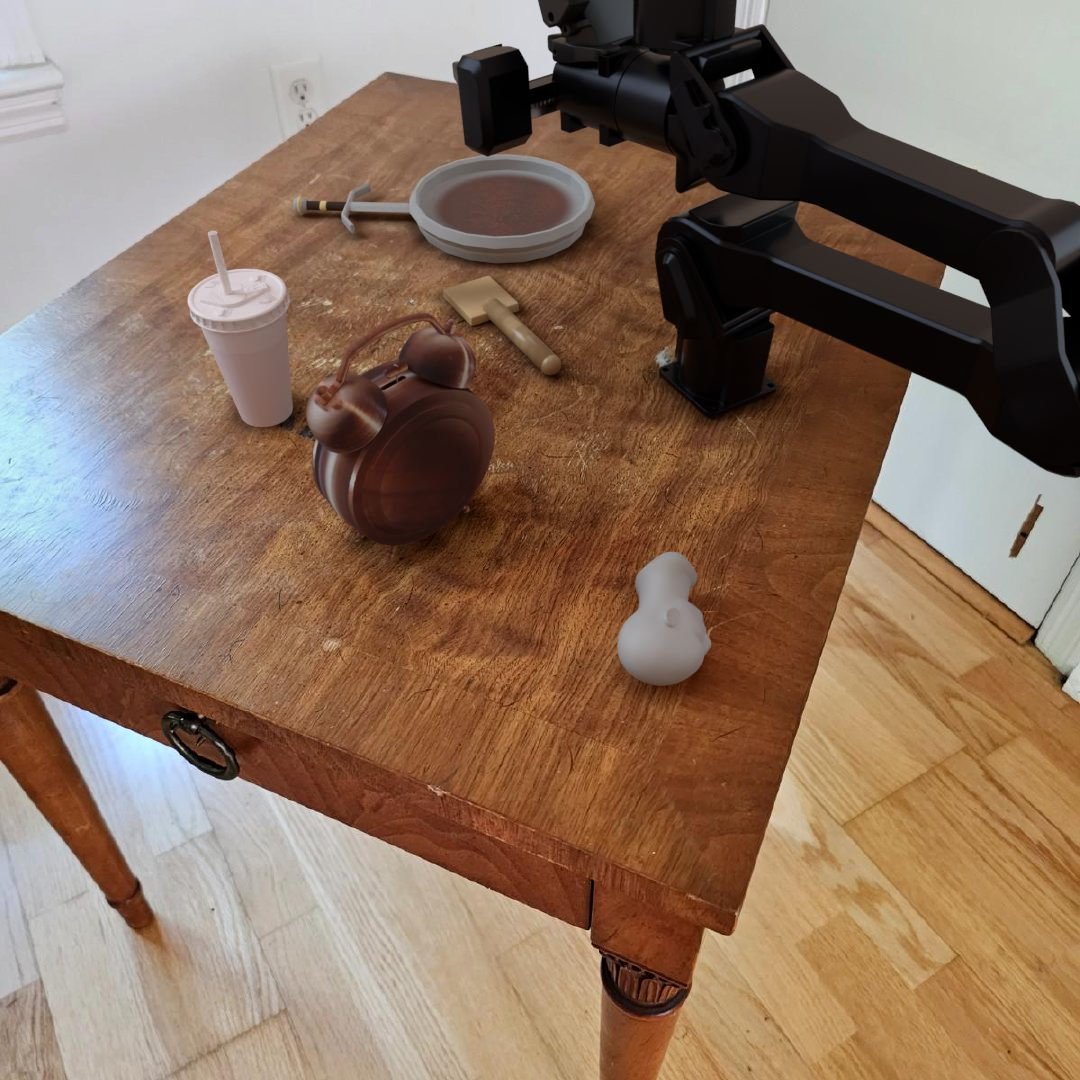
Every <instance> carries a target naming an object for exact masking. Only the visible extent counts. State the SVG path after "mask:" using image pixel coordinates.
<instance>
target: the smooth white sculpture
mask: <svg viewBox="0 0 1080 1080" xmlns="http://www.w3.org/2000/svg"><path fill="white" fill-rule="evenodd" d="M697 581H698V573H697V571H696V569H695V568H694V566H693V565H692V563H690V561H689V560H688V558H687V557H686V556H685V555H683V554H682V553H680V552H677V551H667V552H663V553H661V554H659V555H658V556H656V557H654V558H653V559H652V560H650V562H648V563H647V564H646V565H645V566H644V567H643V568H641V570H640V571H639V572H638V573H637V575H636V577H635V581H634V587H635V591H636V593H637V594H638V598H639V600H638V601H639V602H638V608H637V609H636V611H635V612H634V613H632V614H631V615H630V616H629V617H628V618H627V619H626V620H625V622H623V625H622V626H621V628H620V631H619V634H618V636H617V644H616V645H617V655H618V658H619V661H620V663H621V665H622V667H623V668H624V669H625V671H626V672H627V673H628V674H629V675H630V676H632V677H633V678H635V679H636V680H638V681H639V682H642V683H645V684H648V685H651V686H652V685H653V686H658V687H659V686H671V685H675V684H678V683H680V682H683V681H685V680H686V679H688V678H690V677H692V675H694V673H697V671H698V670H699V669H700V668H701V666H702V664H703V661H704V658H705V656H706V654H707V653H708V652H709V651H710V649H711V647H712V641H711V638H710V637H709V635H708V633H707V628H706V625H705V623H704V615H703V612H702V611H701V610H700V609H699V608H698V607H697V606H695V604H693V603H691V602H690V601H689V596H690V590H691V589H693V588H694V587H695V586H696V583H697Z"/></svg>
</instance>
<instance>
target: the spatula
mask: <svg viewBox="0 0 1080 1080" xmlns="http://www.w3.org/2000/svg"><path fill="white" fill-rule="evenodd" d="M442 297H443V299H444V300H445V301H446V302H447V303H448V304H449V305H450V306H451V307H452V308H453V309H454V310H455V311H456V312H457V313H458V314H459V315H460V316H461V317H462V318H463V319H464V321H466V322H467V324H469V326H470V327H474V326H477V325H480V324H484V323H486V322H489V321H491V322H492V323H493V324H494V325H495V326H496V327H497V328H498V329H499V330H500V332H502V333H503V334H504V336H506V337H507V338H508V340H510V342H512V343H513V344H514V346H515V347H517V348H518V349H519V350H520V351H521V352H522V353H523V354H524V355H525V356H526V358H528V359H529V360H530V361H531V362H532V364H534V365H535V366H536V367H537V368H538V369H539V370H540V371H541V372H542V373H543V374H545V375H548V376H555V375H556V374H557V373H559V372H560V370H561V367H562V361H561V358H560V357H559V356H558V355H557V354H556V353H555V352H554V351H553V350H552V349H551V348H549V347H548V346H547V344H545V343H544V341H542V340H541V338H539V337H538V336H537V335H536V334H535V333H534V332H533V331H532V330H531V329H530V328H529V327H528V326H526V324H525V323H524V322H522V320H521V319H520V318H518V317H517V316H516V314H514V313H517V312H519V311H520V309H519V308H520V307H519V302H518V301H517V300H516V299H515V298H514V297H513V296H512V295H510V294H509V292H507V290H505V289H504V288H503V287H502V286H501V285H500V284H499V283H498V282H497V281H495V279H494V278H492V277H491V276H490V275H486V276H482V277H479V278H476V279H473V280H468V281H465V282H463V283H459V284H456V285H453V286H450V287H446V288H443V289H442Z"/></svg>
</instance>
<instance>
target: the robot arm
mask: <svg viewBox="0 0 1080 1080" xmlns="http://www.w3.org/2000/svg"><path fill="white" fill-rule="evenodd" d="M537 2H538V7H539V11H540V15H541V19H542V22H543V23H544V25H546V27H547V28H549V29H550V28H555V27H557V28H559V30H560V32H559V33H557V32H556V33H551V34H548V35H547V50H548V51H549V53H551V54H552V55H551V56H552V60H553V61H554V62H555V64H554V66H553V71H552V73H550V74H545V75H542V76H540V77H536V78H533V79H530V71H529V70H530V69H529V64H528V63H527V61H526V59H525V57H524V56H523V53H522V52H521V50H520V48H517V47H514V46H511V45H503V43H498V44H495V45H494V44H493V45H492V46H487V47H484V48H481V49H476V50H474V51H472V52H470V53H465V54H463V55H461V57H460V59H459V60H457V61H454V62H452V64H451V66H452V67H451V68H452V74H453V75H452V76H453V79H454V80H455V82H456V84H457V86H458V95H459V102H460V103H459V104H460V105H459V106H460V113H461V121H462V122H461V123H462V131H463V140H464V146H466V147H467V148H468V149H470V150H471V151H472V152H475V153H477V154H479V155H484V156H487V157H488V156H491V155H498V154H500V153H503V152H506V151H509V150H512V149H514V148H517V147H520V146H523V145H525V144H526V143H527V142H528V141H529V139H530V138H531V137H532V135H533V121H532V120H534V119H537V118H540V117H544V116H546V115H550V114H552V113H555V112H558V111H559V113H560V114H559V116H560V117H559V118H560V119H559V120H560V131H562V132H565V133H567V134H573V133H576V132H578V131H581V130H583V129H587V128H589V129H593V130H596V131H598V140H599V141H598V143H599V145H602V146H605V147H607V148H611V147H613V146H616V145H618V144H621V143H625V142H627V141H629V142H631V143H635V144H637V145H640V146H643V147H646V148H649V149H653V150H654V151H658V152H661V153H664V154H667V155H670V156H673V157H675V176H674V177H675V180H674V189H675V191H676V193H678V194H684V193H686V192H688V191H691V190H693V189H696V188H698V187H701V186H703V185H705V184H709V185H711V186H712V187H714V188H715V189H716V190H719V191H721V192H724V194H721V195H719V196H716V197H714V198H712V199H709V200H707V201H705V202H702V203H701V204H698V205H695V206H693V207H691V208H689V209H686V210H683V211H681V212H680V213H677V214H674V215H672V216H670V217H668V218H667V219H665V221H664V222H663V223H662V224H661V226H660V228H659V229H658V232H657V237H656V243H655V250H654V263H655V271H656V276H657V282H658V289H659V296H660V301H661V308H662V314H663V318H664V320H665V321H667V322H669V323H670V324H672V325H673V326H674V328H675V329H676V342H675V349H674V359H675V361H672V362H670V363H667V364H664V365H662V366H660V367H659V369H658V376H659V377H660V378H661V379H662V380H664V382H666V383H667V384H668V385H669V386H671V388H672V389H674V390H675V391H676V392H677V393H678V394H679V395H681V397H683V398H684V399H685V400H686V401H688V403H690V404H691V405H692V406H693V407H694V408H696V409H697V411H699V413H701V414H702V415H704V417H706V418H707V419H714V418H716V417H717V418H718V417H720V416H723V415H725V414H727V413H730V412H732V411H735V410H737V409H739V408H741V407H744V406H747V405H749V404H752V403H754V402H756V401H760V400H761V399H764V398H766V397H769V396H771V395H775V393H777V389H778V384H777V383H776V382H775V381H774V380H772V379H771V378H769V377H768V376H767V375H766V370H767V366H768V362H769V358H770V357H769V356H770V352H771V347H772V344H773V343H772V342H773V338H774V333H775V328H776V326H775V324H774V323H772V322H771V321H770V318H771V316H772V315H773V314H775V313H778V314H781V315H782V316H784V317H786V318H789V319H790V320H794V321H795V322H797V323H800V324H802V325H804V326H807V327H809V328H811V329H813V330H816V331H818V332H820V333H823V334H825V335H827V336H829V337H832V338H833V339H836V340H838V341H841V342H843V343H844V344H847V345H849V346H852V347H854V348H856V349H858V350H861V351H863V352H865V353H866V354H867V353H868V354H870V355H872V356H874V357H875V358H879V359H881V360H883V361H885V362H887V363H890V364H892V365H894V366H897V367H898V368H901V369H904V370H905V371H907V372H910V373H912V374H914V375H917V376H919V377H921V378H924V379H926V380H928V381H930V382H932V383H935V384H937V385H938V386H939V385H940V386H942V387H944V388H946V389H948V390H950V391H952V392H955V393H957V394H959V395H960V396H961V397H964V398H965V399H966V400H967V402H968V403H969V405H970V406H971V408H972V409H973V411H974V413H975V414H976V415H977V417H978V418H979V419H980V421H981V423H982V424H983V426H984V427H985V428H986V430H987V431H988V433H989V434H990V435H991V436H992V437H993V438H994V439H996V440H997V441H999V442H1001V444H1003V445H1005V446H1007V447H1008V448H1009V449H1011V450H1013V451H1014V452H1016V453H1018V455H1020V456H1022V457H1023V458H1025V459H1027V460H1028V461H1029V462H1030V463H1033V464H1034V465H1036V466H1037V467H1038V468H1040V469H1042V470H1044V471H1045V472H1048V473H1051V474H1054V475H1058V476H1060V477H1063V478H1073V479H1077V478H1080V205H1079V204H1078V203H1077V202H1075V201H1071V200H1066V199H1062V198H1051V197H1044V196H1042V195H1040V194H1037V193H1034V192H1032V191H1029V190H1026V189H1024V188H1021V187H1019V186H1016V185H1014V184H1011V183H1009V182H1006V181H1004V180H1002V179H998V178H996V177H993V176H991V175H989V174H986V173H985V172H984V173H983V172H981V171H978V170H976V169H973V168H971V167H969V166H966V165H963V164H962V163H961V164H960V163H957V162H955V161H953V160H950V159H948V158H945V157H942V156H940V155H939V154H938V155H937V154H935V153H932V152H930V151H927V150H925V149H923V148H920V147H917V146H915V145H912V144H911V143H907V142H904V141H902V140H899V139H897V138H895V137H891V136H888V135H886V134H884V133H881V132H879V131H877V130H874V129H871V128H869V127H867V126H866V125H864V124H863V123H862V122H860V121H858V120H857V119H856V118H854V117H853V116H852V115H851V114H850V112H849V110H848V109H847V107H846V105H845V104H844V102H843V101H842V99H841V98H840V96H839V95H837V94H836V93H834V92H833V91H831V90H829V89H828V88H827V87H825V86H824V85H822V84H820V83H819V82H817V81H816V80H814V79H813V78H811V77H809V76H808V75H806V74H804V73H803V72H801V71H799V70H798V69H796V67H795V66H794V65H793V63H792V62H791V60H790V59H789V58H788V56H787V55H786V53H785V52H784V50H783V49H782V48H781V46H780V45H779V43H778V42H777V41H776V39H775V38H774V36H773V35H772V34H771V32H770V30H769V29H768V28H767V27H766V25H765V24H764V23H758V24H756V25H753V26H750V27H746V28H742V27H738V26H736V17H737V4H738V3H737V2H738V0H537ZM750 70H751V72H752V76H753V78H750V79H748V80H745V81H742V82H739V83H737V84H734V85H730V86H728V87H726V83H725V80H724V79H727V78H729V77H732V76H735V75H738V74H741V73H743V72H746V71H750ZM800 202H802V203H805V204H809V205H814V206H818V207H819V208H821V209H823V210H826V211H828V212H831V214H835V215H837V216H839V217H840V218H843V219H845V220H848V221H850V222H852V223H854V224H856V225H859V226H860V227H863V228H865V229H867V230H869V231H871V232H874V233H875V234H878V235H880V236H882V237H884V238H886V239H889V240H891V241H892V242H894V243H898V244H899V245H902V246H904V247H906V248H908V249H910V250H912V251H914V252H917V253H919V254H921V255H924V256H925V257H928V258H929V259H932V260H934V261H936V262H938V263H940V264H943V265H945V266H947V267H949V268H952V269H954V270H956V271H958V272H960V273H962V274H965V275H967V276H969V277H971V278H973V279H974V280H978V282H979V284H980V287H981V289H982V291H983V294H984V296H985V298H986V301H987V303H988V305H989V306H987V305H984V304H981V303H979V302H976V301H973V300H971V299H969V298H968V299H967V298H965V297H963V296H960V295H957V294H955V293H953V292H950V291H946V290H944V289H942V288H939V287H936V286H933V285H931V284H928V283H927V282H923V281H920V280H918V279H915V278H913V277H910V276H907V275H904V274H902V273H900V272H897V271H894V270H891V269H889V268H886V267H884V266H881V265H878V264H875V263H873V262H870V261H867V260H866V259H863V258H859V257H857V256H854V255H852V254H849V253H847V252H844V251H841V250H838V249H835V248H833V247H830V246H828V245H826V244H822V243H820V242H818V241H815V240H812V239H811V238H809V237H808V236H807V235H806V233H805V232H804V229H803V228H802V227H801V225H800V224H799V222H798V220H797V219H796V216H797V212H798V210H799V209H798V208H799V206H800ZM1063 310H1064V312H1065V313H1066V314H1067V315H1068V316H1064V313H1063Z"/></svg>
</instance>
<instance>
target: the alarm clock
mask: <svg viewBox="0 0 1080 1080" xmlns="http://www.w3.org/2000/svg"><path fill="white" fill-rule="evenodd" d="M421 322H426V323H429V324H430V325H431V326H432V327H424V328H421V329H418V330H417V331H414V332H413V333H412V334H411V335H410V336H409V337H408V338H407V340H406V341H405V342H404V344H403V346H402V348H401V349H400V352H399V354H398V357H397V359H393V360H390V361H386V362H383V363H381V364H379V365H376V366H375V367H372V368H370V369H368V370H367V371H366V372H364V373H362V374H357V373H353V372H349V369H350V366H351V363H352V361H353V360H354V359H355V357H356V356H358V354H359V353H360V352H362V351H363V350H364V349H366V348H367V347H369V346H370V345H371V344H372V343H374V342H375V341H377V340H378V339H379V338H381V337H383V336H385V335H388V334H389V333H392V332H394V331H395V330H398V329H400V328H402V327H406V326H408V325H411V324H412V325H413V324H416V323H421ZM456 329H457V323H456V320H455V319H453V318H449V319H447V320H446V321H445V322H444V325H441V323H440V322H439V321H438V319H436V317H434V316H433V315H432V314H430V313H428V312H417V313H412V314H408V315H404V316H401V317H398V318H395V319H393V320H391V321H389V322H386V323H385V324H381V325H380V326H378V327H377V328H375V329H373V330H372V331H371V332H368V333H367V334H366V335H364V336H363V337H361V338H360V339H359V340H357V341H356V342H355V343H354V344H352V345H351V346H350V347H348V349H347V350H346V351H345V353H344V354H343V356H342V358H341V361H340V365H339V369H338V371H337V373H335V374H332V375H329V376H328V377H326V378H324V379H323V380H322V381H320V382H319V383H318V384H317V385H316V386H315V387H314V388H313V390H312V392H311V393H310V395H309V397H308V399H307V402H306V406H305V407H306V408H305V419H306V421H307V425H308V428H309V430H310V432H311V433H312V435H313V436H314V438H315V439H314V441H313V442H314V443H313V448H312V455H311V471H312V476H313V480H314V484H315V485H316V487H317V489H318V491H319V492H320V494H321V495H322V496H323V498H324V499H325V500H326V502H327V503H328V504H329V505H330V506H331V508H332V509H333V510H334V511H335V513H337V515H338V516H339V517H340V518H341V519H342V520H343V521H344V522H346V524H348V525H349V526H350V527H352V528H353V529H354V530H356V531H358V532H357V533H356V537H357V539H359V540H363V539H364V538H365V537H366V538H367V539H368V540H370V541H372V542H374V543H376V544H378V545H381V546H388V551H387V552H386V557H387V558H388V559H394V557H395V551H396V549H397V547H399V546H406V545H410V544H413V543H417V542H420V541H421V540H423V539H425V538H428V537H430V536H432V535H433V534H435V533H436V532H438V531H439V530H441V529H442V528H444V527H445V526H446V525H447V524H449V523H450V522H451V521H452V520H453V519H454V518H456V516H458V515H459V514H460V512H461V511H462V512H463V513H465V514H467V513H468V512H470V509H471V507H469V506H468V505H467V504H468V503H469V502H470V501H471V500H472V498H473V497H474V495H475V494H476V492H477V491H478V489H479V488H480V486H481V484H482V482H483V480H484V478H485V476H486V474H487V472H488V469H489V468H490V465H491V461H492V458H493V453H494V450H495V442H496V441H495V440H496V428H495V423H494V418H493V415H492V413H491V410H490V408H489V407H488V405H487V404H486V402H484V401H483V400H482V399H481V398H480V397H479V396H478V395H476V393H474V392H473V391H472V390H471V389H470V387H472V385H473V382H474V379H475V374H476V369H477V368H476V367H477V359H476V355H475V351H474V350H473V348H472V346H471V345H470V343H469V342H468V341H467V340H466V339H464V338H463V337H465V334H464V333H462V332H460V331H456Z"/></svg>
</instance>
